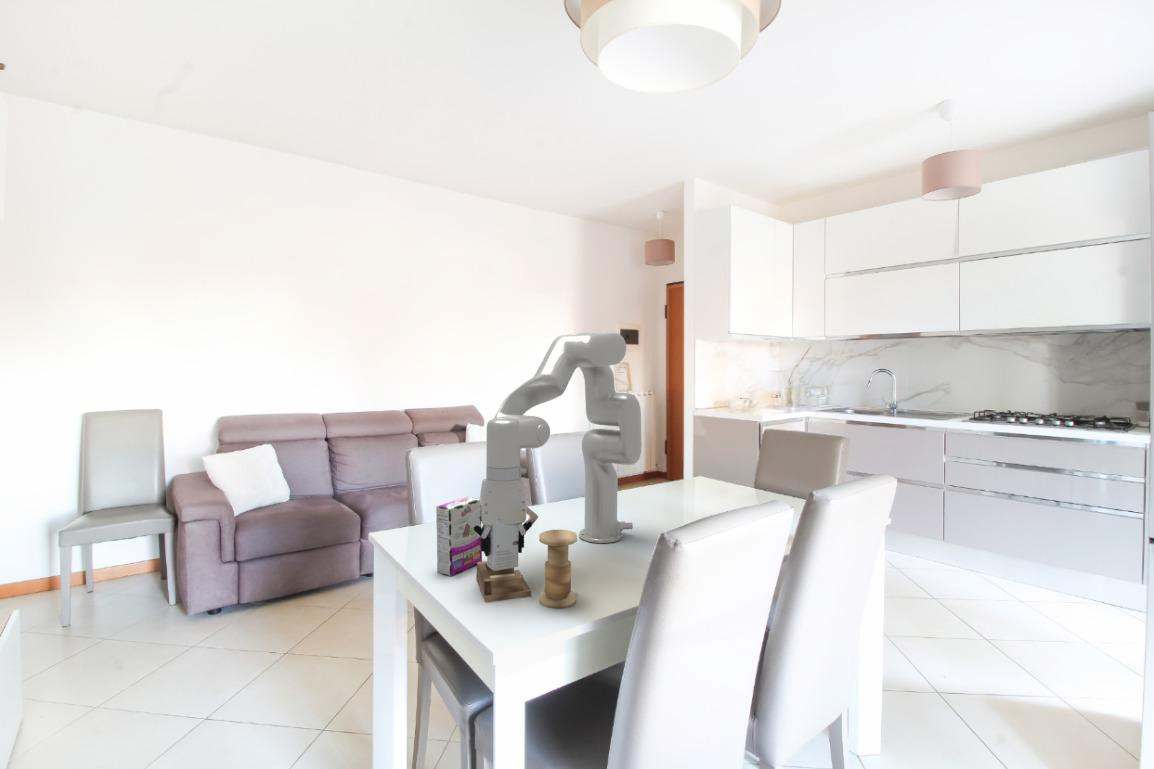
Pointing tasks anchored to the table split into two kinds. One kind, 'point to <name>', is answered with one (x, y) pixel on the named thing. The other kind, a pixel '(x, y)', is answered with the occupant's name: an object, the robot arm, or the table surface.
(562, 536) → the bobbin
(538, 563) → the table surface
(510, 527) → the skincare box
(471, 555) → the candy bar box
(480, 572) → the wooden u-shaped holder
